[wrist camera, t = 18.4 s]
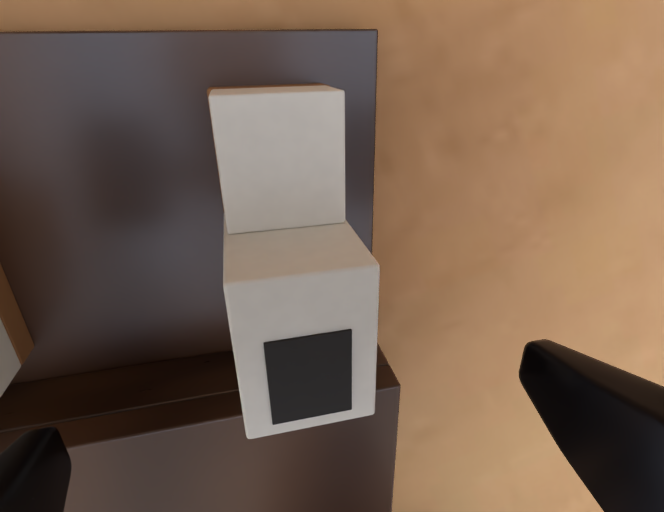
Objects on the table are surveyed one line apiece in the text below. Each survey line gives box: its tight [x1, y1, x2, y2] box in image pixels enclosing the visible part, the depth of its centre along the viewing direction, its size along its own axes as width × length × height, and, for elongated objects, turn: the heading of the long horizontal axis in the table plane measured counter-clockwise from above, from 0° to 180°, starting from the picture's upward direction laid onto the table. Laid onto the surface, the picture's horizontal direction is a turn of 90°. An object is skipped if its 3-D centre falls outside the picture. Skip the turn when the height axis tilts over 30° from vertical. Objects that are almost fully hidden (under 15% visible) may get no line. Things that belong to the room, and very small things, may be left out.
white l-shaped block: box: [207, 83, 380, 439], centre depth 10 cm, size 7×3×5 cm, turn 1°
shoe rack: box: [0, 29, 400, 512], centre depth 12 cm, size 15×19×6 cm
